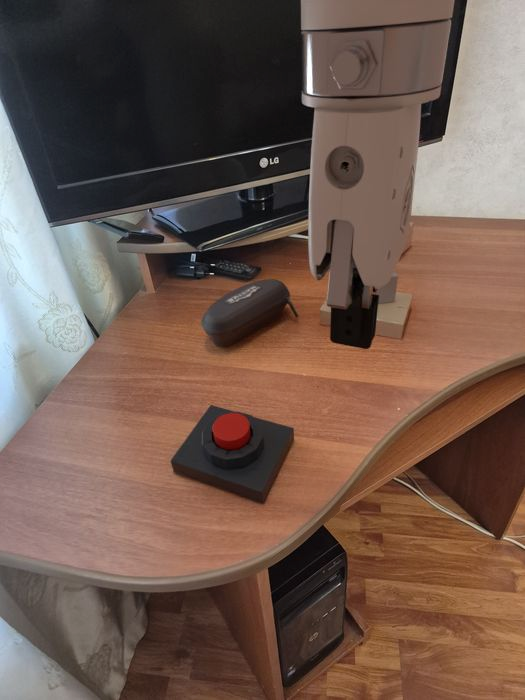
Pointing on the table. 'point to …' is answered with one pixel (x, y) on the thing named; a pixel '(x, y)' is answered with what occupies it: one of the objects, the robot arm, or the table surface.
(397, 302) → the base
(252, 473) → the switch block
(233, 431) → the button
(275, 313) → the glasses case
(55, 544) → the table surface
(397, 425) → the table surface
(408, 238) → the power adapter
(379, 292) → the grey red-tipped bar
